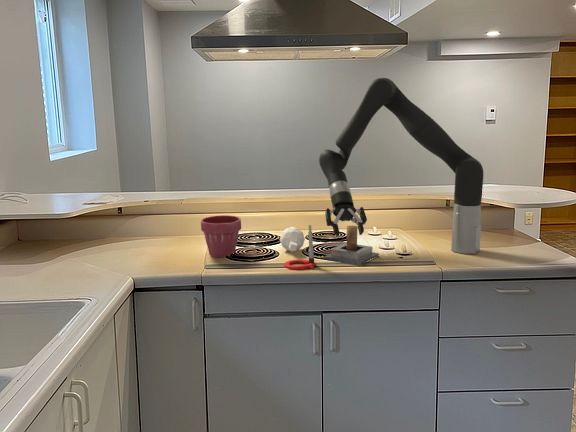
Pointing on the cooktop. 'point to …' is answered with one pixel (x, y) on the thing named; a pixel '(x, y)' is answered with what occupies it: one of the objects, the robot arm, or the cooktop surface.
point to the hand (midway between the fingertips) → (349, 234)
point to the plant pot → (221, 234)
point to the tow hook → (308, 263)
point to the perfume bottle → (292, 239)
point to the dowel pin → (352, 238)
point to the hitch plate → (328, 257)
